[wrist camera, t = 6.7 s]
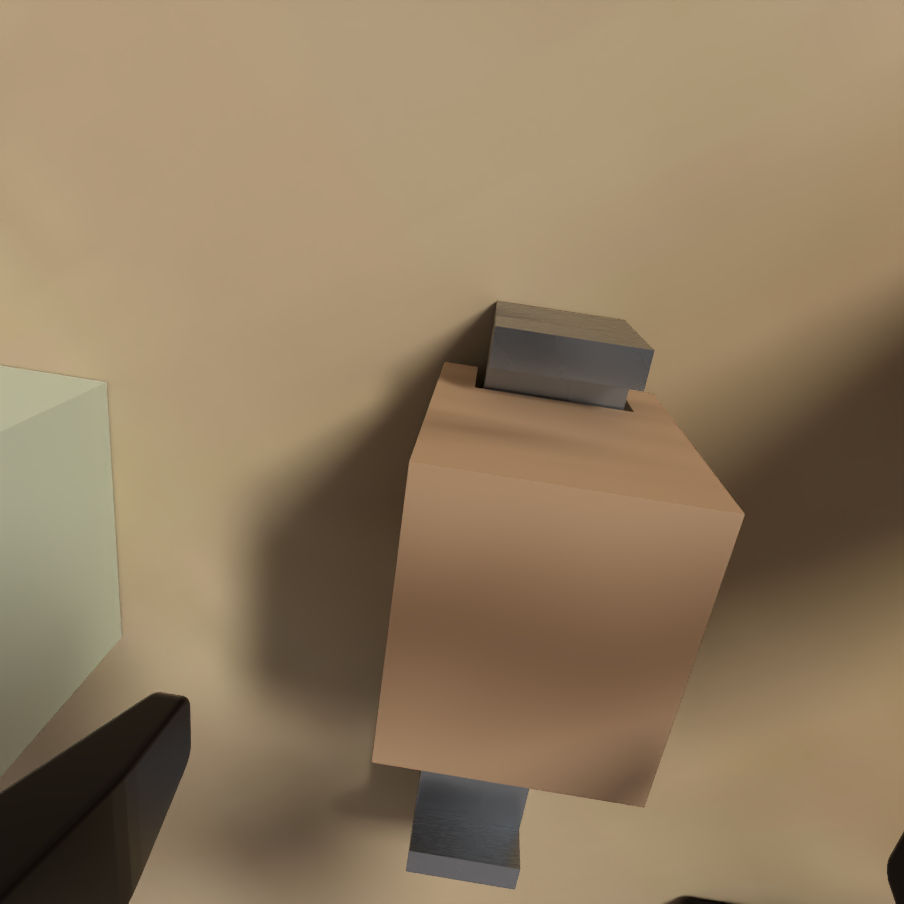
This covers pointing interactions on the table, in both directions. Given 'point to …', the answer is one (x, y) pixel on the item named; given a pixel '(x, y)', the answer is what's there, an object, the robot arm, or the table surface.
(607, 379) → the rail
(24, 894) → the robot arm
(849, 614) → the table surface
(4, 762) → the cabinet
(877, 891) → the table surface
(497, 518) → the block
